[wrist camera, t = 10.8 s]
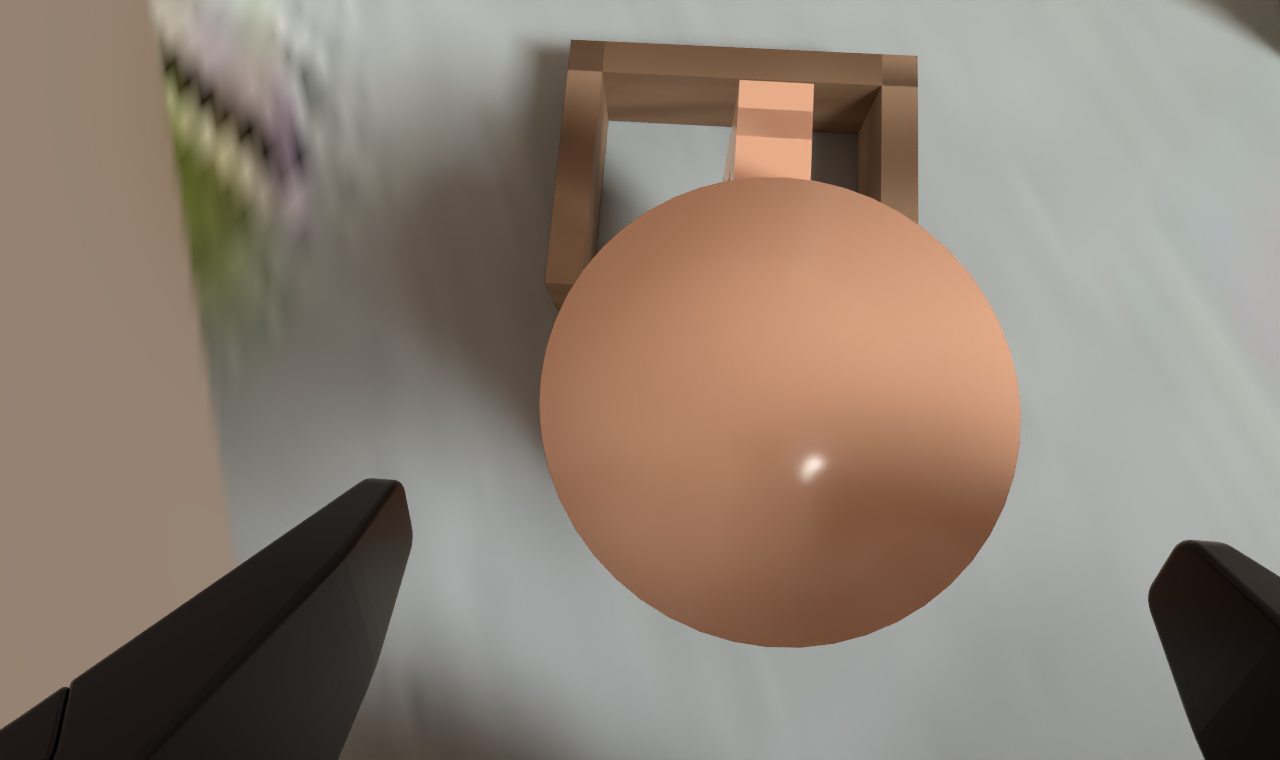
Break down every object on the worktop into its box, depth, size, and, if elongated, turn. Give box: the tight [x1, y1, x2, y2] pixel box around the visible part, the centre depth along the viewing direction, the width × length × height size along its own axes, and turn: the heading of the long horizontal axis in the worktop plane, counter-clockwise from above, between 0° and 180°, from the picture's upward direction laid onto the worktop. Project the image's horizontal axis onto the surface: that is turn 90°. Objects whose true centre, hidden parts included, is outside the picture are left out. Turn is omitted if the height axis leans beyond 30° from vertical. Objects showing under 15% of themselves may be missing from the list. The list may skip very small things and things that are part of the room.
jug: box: [539, 80, 1021, 648], centre depth 15 cm, size 8×6×12 cm
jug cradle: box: [545, 40, 918, 311], centre depth 21 cm, size 8×10×2 cm
